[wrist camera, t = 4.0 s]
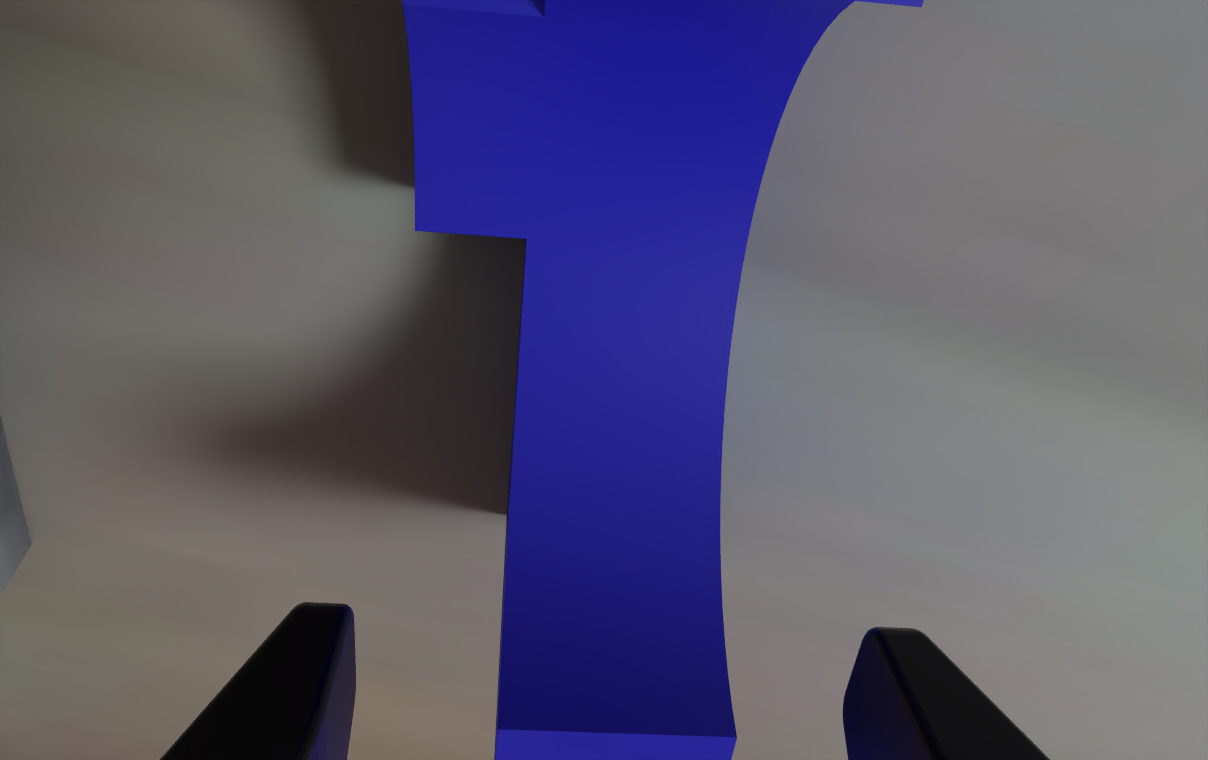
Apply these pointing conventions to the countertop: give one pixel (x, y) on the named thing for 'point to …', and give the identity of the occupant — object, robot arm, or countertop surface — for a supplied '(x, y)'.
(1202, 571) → the countertop surface
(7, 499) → the parts tray
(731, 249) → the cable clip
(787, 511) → the countertop surface
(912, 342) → the countertop surface
